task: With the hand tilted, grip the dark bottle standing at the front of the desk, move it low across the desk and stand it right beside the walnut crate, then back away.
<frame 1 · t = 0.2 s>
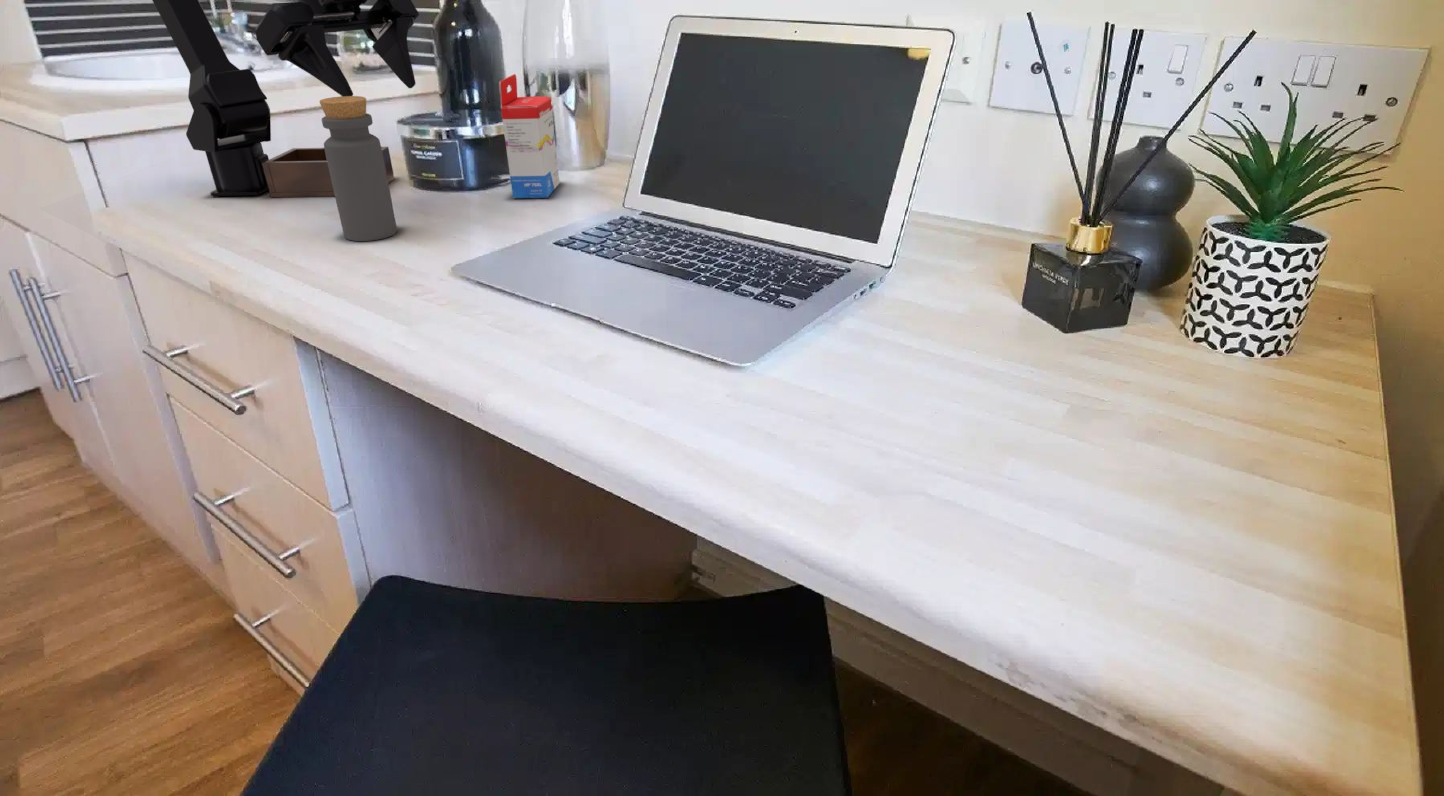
hand: (382, 91, 97), 15 cm above the worktop, tool tilted 35°, fingers open, 9 cm apart
ink box: (537, 192, 115), on the worktop
bottle: (371, 235, 98), on the worktop
crate: (335, 187, 118), on the worktop
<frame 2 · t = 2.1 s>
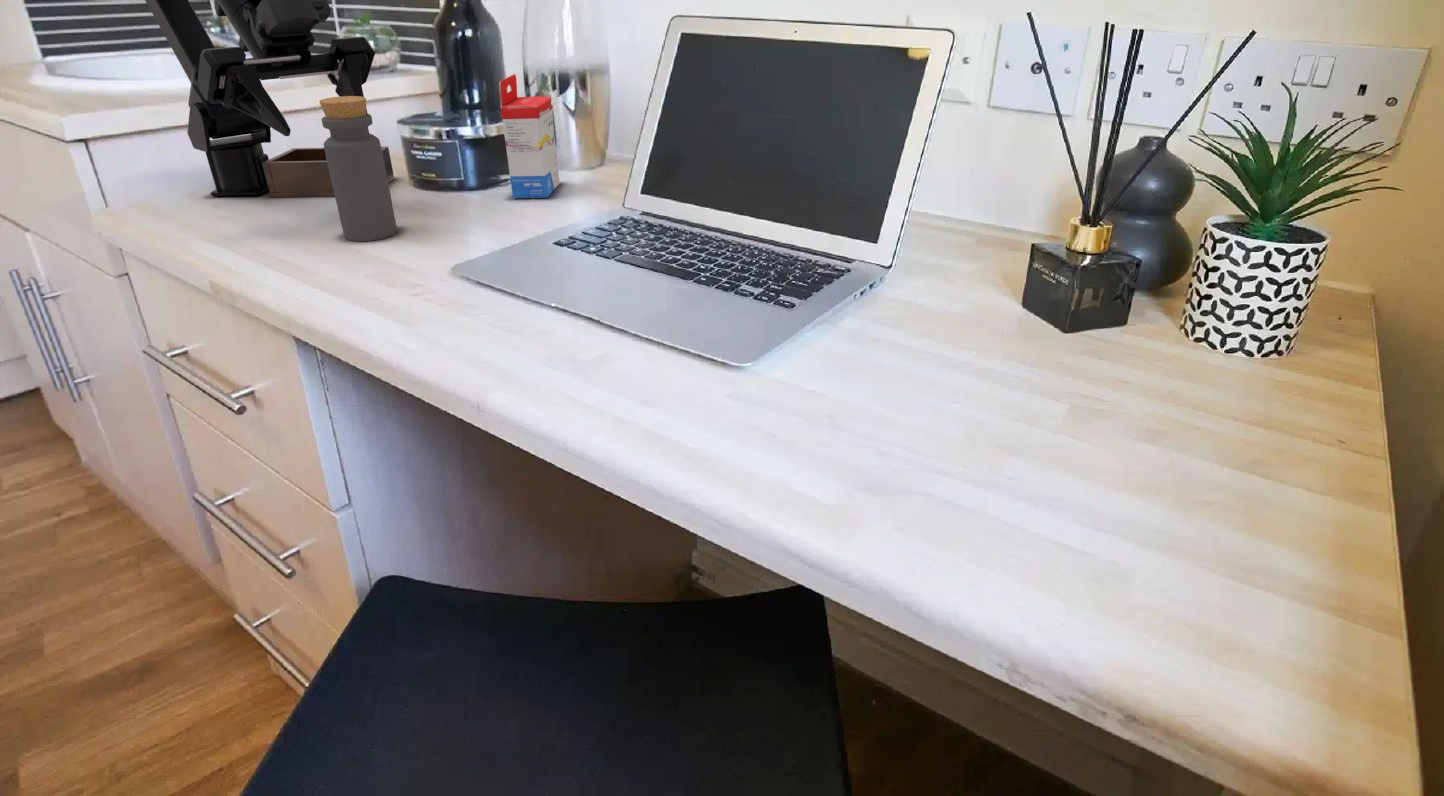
hand: (328, 127, 95), 12 cm above the worktop, tool tilted 45°, fingers open, 9 cm apart
nothing on the worktop moved.
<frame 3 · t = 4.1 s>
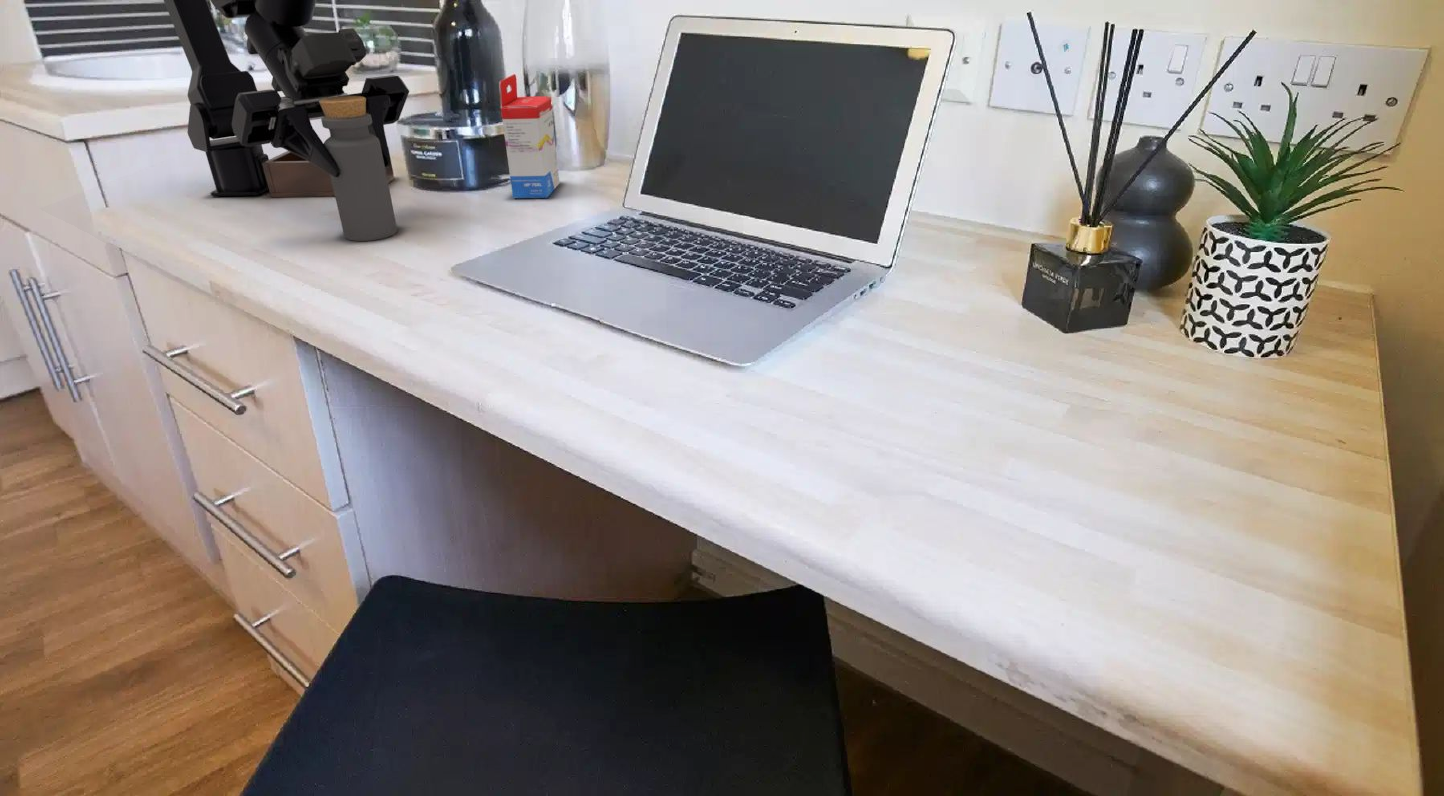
hand: (363, 169, 94), 8 cm above the worktop, tool tilted 45°, fingers closed on bottle, 6 cm apart
bottle: (371, 235, 98), on the worktop, touching gripper
everything else where it was.
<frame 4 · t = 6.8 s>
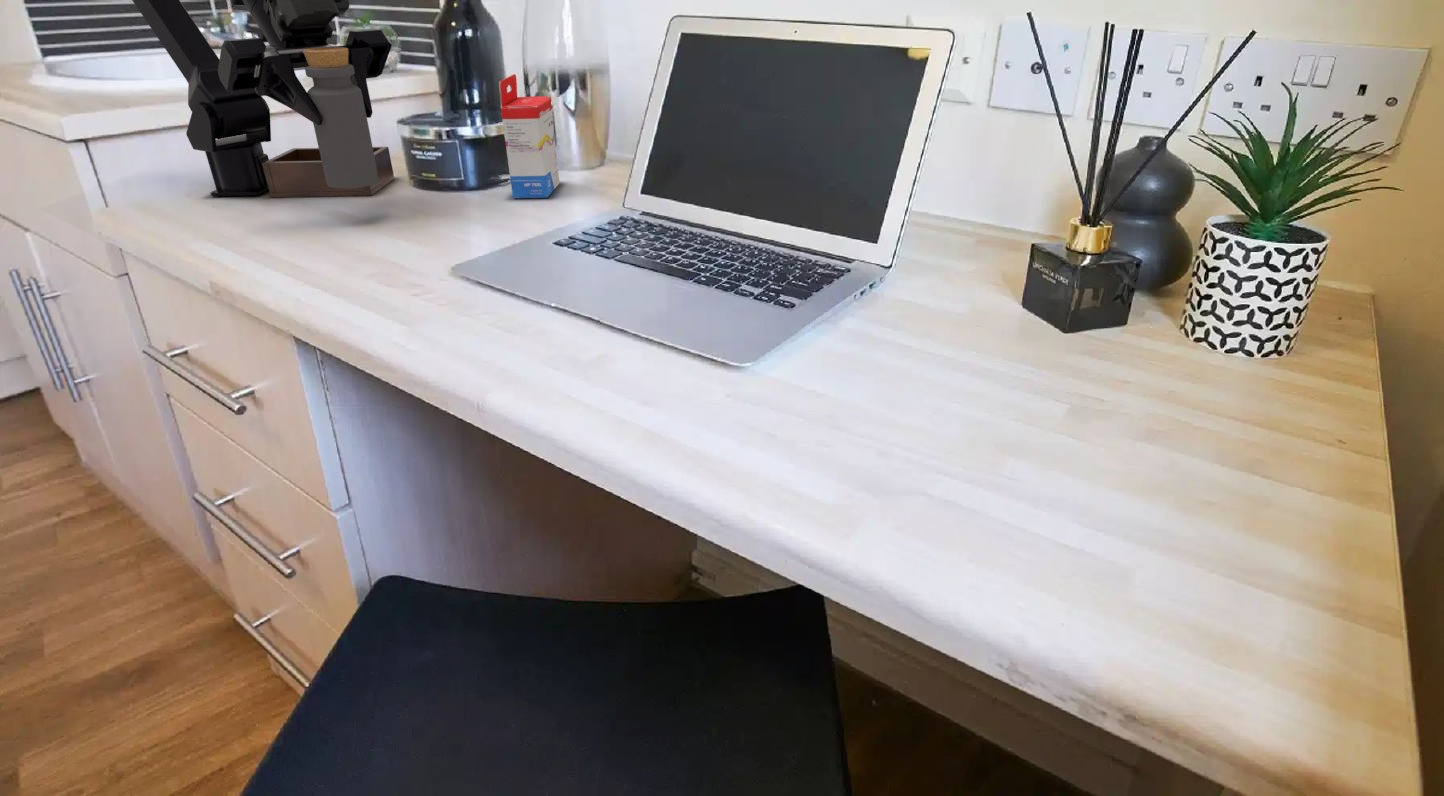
hand: (345, 118, 97), 12 cm above the worktop, tool tilted 45°, fingers closed on bottle, 6 cm apart
bottle: (353, 184, 101), point 4 cm above the worktop, touching gripper
everything else where it was.
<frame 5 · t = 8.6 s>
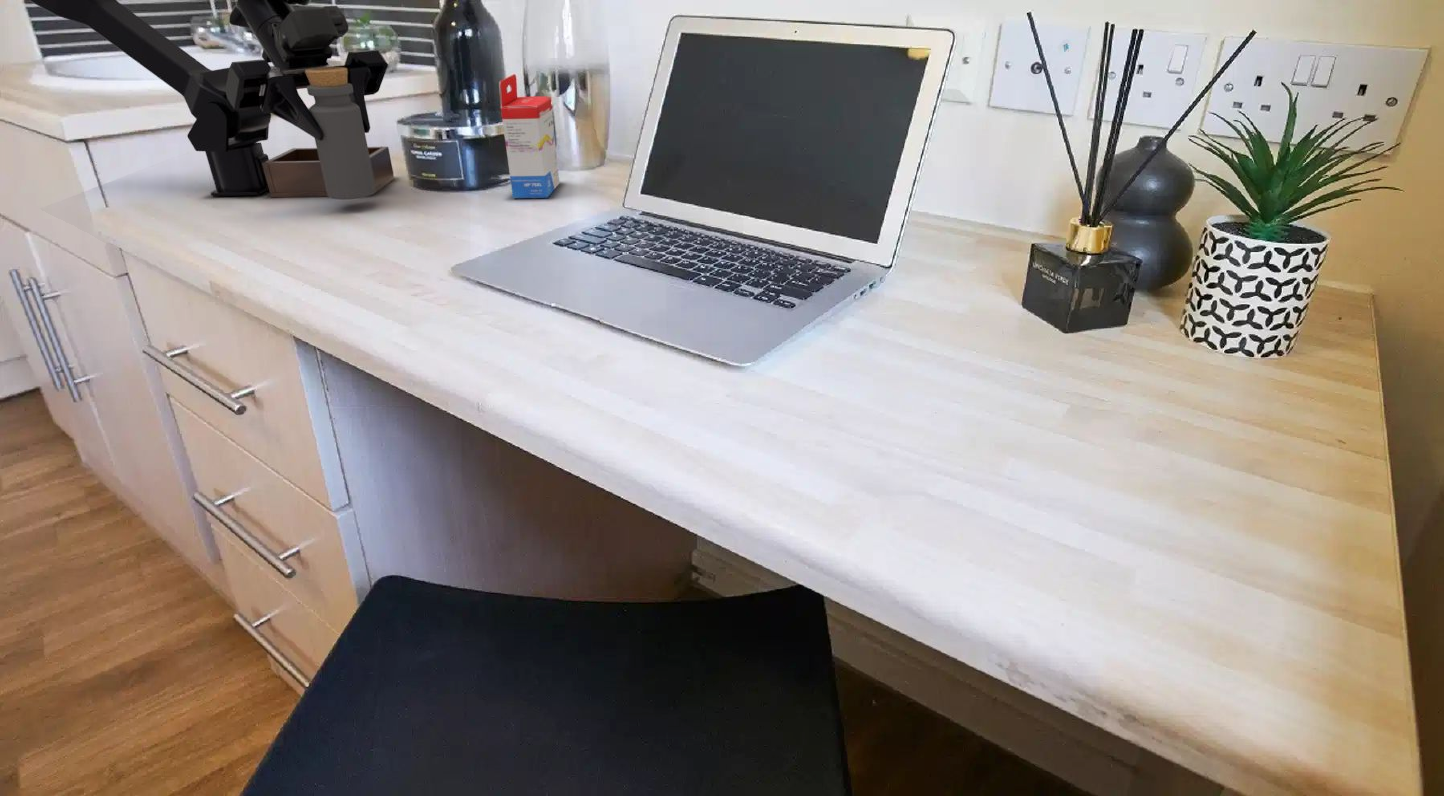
hand: (345, 134, 103), 9 cm above the worktop, tool tilted 45°, fingers closed on bottle, 6 cm apart
bottle: (352, 195, 108), point 2 cm above the worktop, touching gripper
everything else where it was.
when the fingers open (8 cm above the worktop, at t = 9.7 s): bottle stays where it is, on the worktop.
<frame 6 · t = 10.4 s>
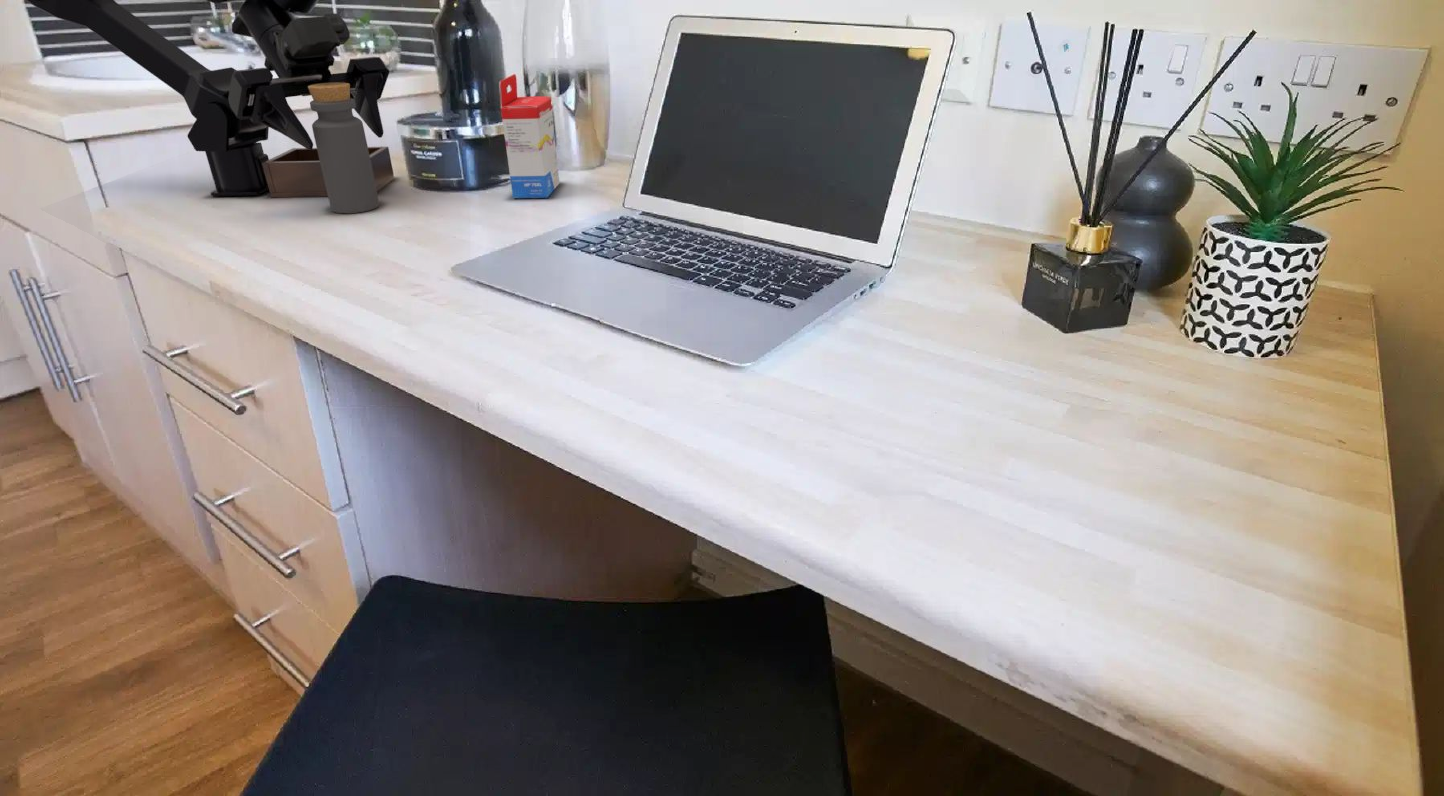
hand: (347, 141, 104), 9 cm above the worktop, tool tilted 45°, fingers open, 9 cm apart
bottle: (356, 209, 109), on the worktop
everything else where it was.
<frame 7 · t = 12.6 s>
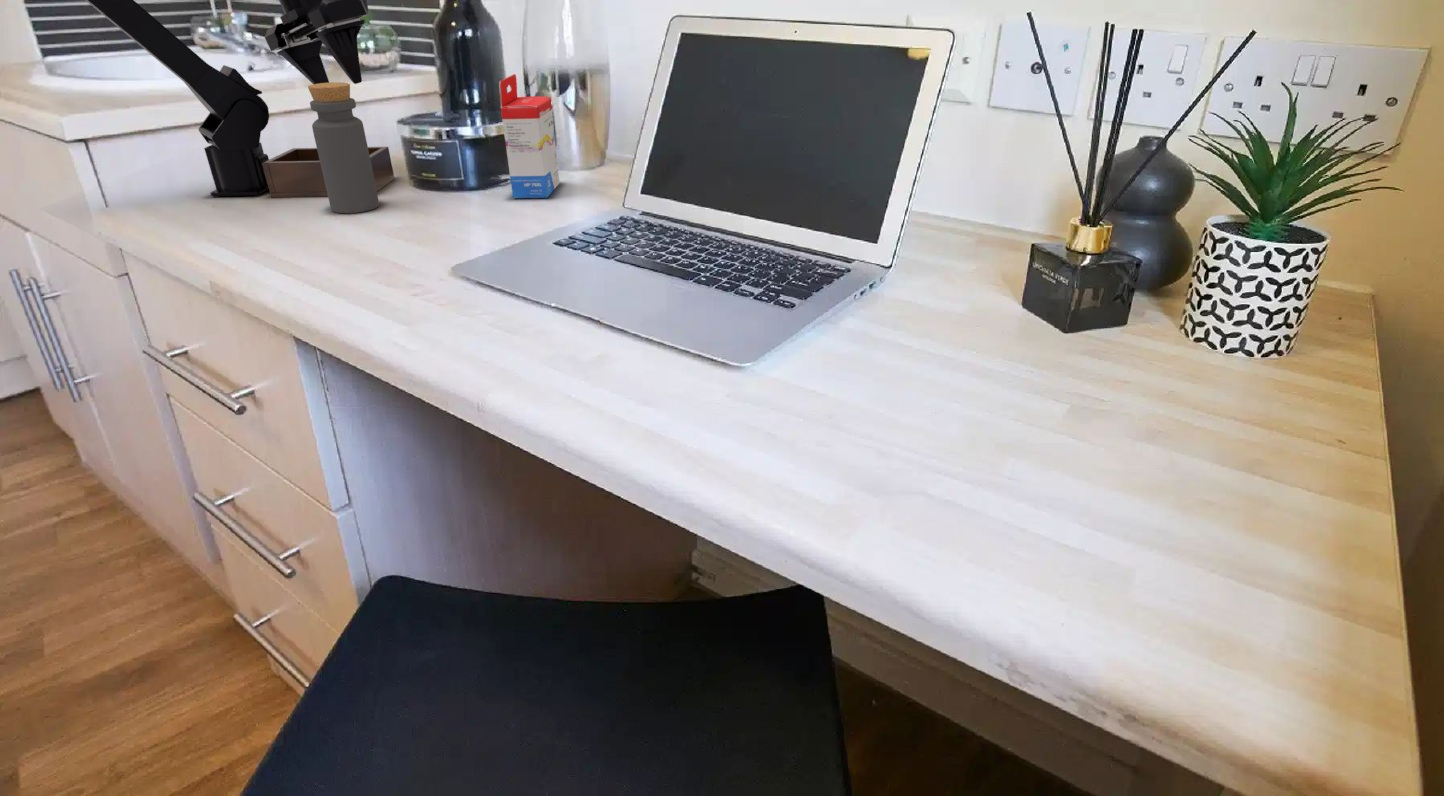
hand: (342, 88, 117), 12 cm above the worktop, tool tilted 15°, fingers open, 9 cm apart
nothing on the worktop moved.
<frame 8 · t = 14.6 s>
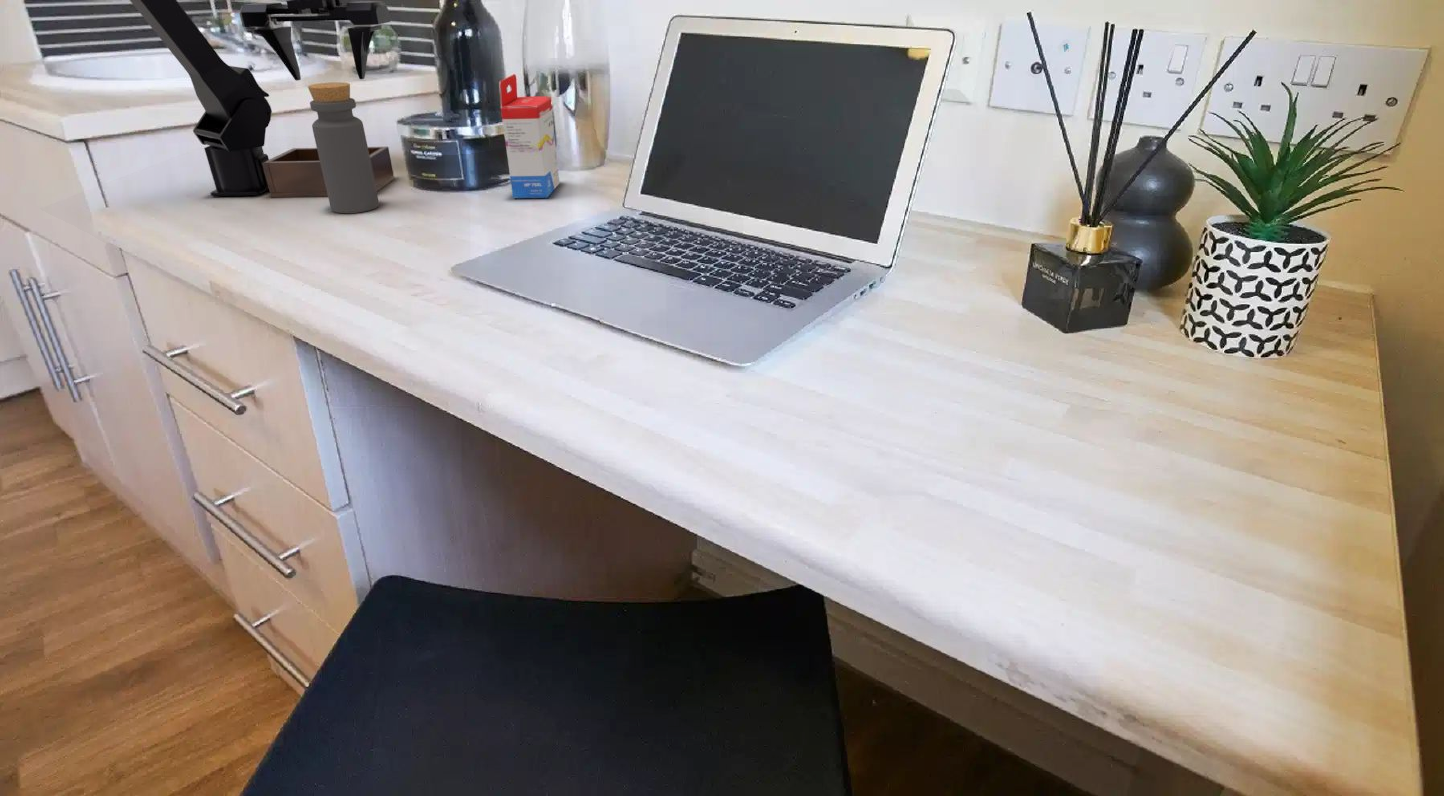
hand: (330, 79, 122), 13 cm above the worktop, tool pointing down, fingers open, 9 cm apart
nothing on the worktop moved.
at the end: bottle inside the target area on the worktop beside the crate (0.3 cm from its centre), on the worktop; bottle tilted 0°; the gripper is holding nothing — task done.
